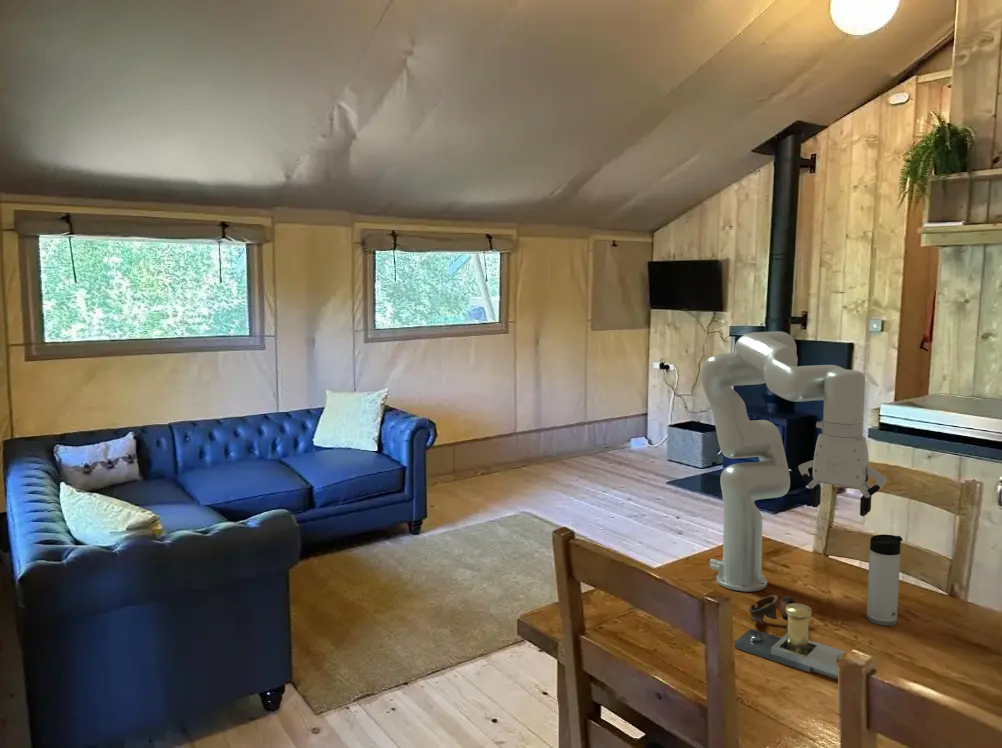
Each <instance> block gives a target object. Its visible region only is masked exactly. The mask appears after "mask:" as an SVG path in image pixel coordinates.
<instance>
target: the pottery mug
mask: <svg viewBox="0 0 1002 748" xmlns="http://www.w3.org/2000/svg"><path fill="white" fill-rule="evenodd" d="M755 603H756V605H757V606H756V605H755V604H754V603H753V604H751V605H750V606H749V608H748V612H749V613H750V617H749V618H750V621H751V622H758V623H760V624H762V625H763V624H764V618H765V617H767V618H769V619H772V620H778V617H777V612H776V611H777V610H778V611H779V613H780V614H781V615H782V619H783V620H784V621H786V622H788V614H786V612H785V611H786V605H788V604H791V603H797V602H796V600H795V599H794V598H793V597H791V596H788V595H787V596H784V597H782V598H779V596H777V594H772V595H771V594H770V595H767V596H765V597H763V598H760V599H758V600H756V602H755ZM784 630H785V632H788V626H787V627H785V629H784Z"/></svg>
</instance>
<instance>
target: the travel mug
mask: <svg viewBox="0 0 1002 748" xmlns="http://www.w3.org/2000/svg"><path fill="white" fill-rule="evenodd" d="M902 542H903V537H902V536H900V535H893V534H876V535H873V536H871V537H870V540H869V545H870V546H869V554H868V555H869V556H868V579H867V600H866V602H867V604H866V619H867V620H868V621H869V622H871V623H872V624H875V625H878V626H883V627H891V626H895V625H896V624H898V608H899V592H900V591H899V589H900V588H899V585H900V570H901V569H900V567H901V566H900V565H901V546H902V545H901V543H902Z"/></svg>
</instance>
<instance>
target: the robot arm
mask: <svg viewBox="0 0 1002 748" xmlns="http://www.w3.org/2000/svg"><path fill="white" fill-rule="evenodd" d="M798 360H799V359H798V355H797V344H796V341H795V339H794V337H793V336H792V335H791V334H790V333H787V332H785V331H778V330H776V331H757V332H756V331H755V332H753V331H752V332H749V333H745V334H744V335H741V336H740V337H739V338H738V339H737V341H736V342H735V345H734V352H729V353H728V352H727V353H718V354H715V355H713V356H710V357H708V358H707V359H706V360H705V361H704V363H703V365H702V368H701V383H702V384H701V385H702V387H703V391H704V394H705V396H706V398H707V400H708V402H709V406H710V408H711V412H712V416H713V420H714V425H715V431H716V432H715V433H716V437H717V442H718V446H719V450H720V453H722V455H723V456H724V457H726V458H728V459H747V458H757V457H758V459H759V461H751V462H750V461H749V462H738V463H733V464H730V465H728V466H727V467H725V468H724V469H723V470H722V471H721V474H720V478H719V479H720V480H719V482H720V489H721V493H722V494H721V495H722V503H723V534H722V535H723V537H722V538H723V544H722V545H723V548H722V560H718V559H715V558H710V560H709V568H710V569H712V570H716V571H717V572H718V573H717V574H716V582H717V583H718V584H719V585H720V586H721V587H723V588H726V589H728V590H733V591H738V592H748V593H749V592H757V591H758V592H759V591H762V590H764V589H765V588H766V587H768V579H767V578H766V577H765V575H763V574H762V561H763V560H762V554H763V553H762V552H763V515H762V513H761V512H760V509H759V508H758V506H756V504H755V501H758V500H765V499H774V498H775V499H776V498H781V497H783V496H786V495H787V494H788V492H789V490H790V488H791V477H790V476H791V475H790V471H789V465H788V461H787V456H786V452H785V448H784V447H785V446H784V444H783V443H784V442H783V439H782V435H781V432H780V430H779V428H778V427H777V426H776V425H775V424H774V423H773V422H771V421H769V420H768V419H767V420H765V419H759V420H758V419H757V420H754V419H753V420H750V418H749V416H748V412H747V407H746V403H745V401H744V400H743V398H742V397H741V396H740V395H739V394H738V392H737V391H735V390H734V389H733V388H732V387H733V386H734V387H735V386H750V385H751V386H752V385H753V386H754V385H763V384H765V385H766V387H767V388H768V390H769V391H770V392H771V393H773V394H775V395H776V396H778V397H780V398H782V399H784V400H786V401H790V402H795V403H796V402H811V401H823V415H822V416H823V417H822V421H821V420H820V421H816V424H815V427H816V428H817V429H821V433H819V434H818V436H817V440H816V443H815V448H814V449H815V450H814V455H813V460H809V461H806V462H804V463H801V464H799V465H798V467H797V468H798V471H799V473H800V475H801V477H802V480H803V481H804V482H805V483H806V484H807V486H808V488H809V489H810V490H809V491H810V493H809V501H810V502H811V507H812V508H816V507H818V506H820V505H821V498H822V497H821V495H822V487H821V485H820V484H826V485H827V484H828V485H833V486H839V487H845V488H853V489H855V488H856V489H858V490H859V491H860V493H861V494H862V496H861V497H860V504H859V515H860V516H861V517H865V516H867V515H868V514H869V513H870V512H871V509H872V496H873V495H874V494H876V493H877V492H878V491H880V490H881V489H882V488H883V486H884V484H885V483H886V482H887V480H888V479H887V476H885V475H884V474H882V473H880V472H879V471H877V470H876V469H874V468H872V466H870V460H869V459H870V458H869V450H868V444H867V443H868V442H867V438H866V437H865V436H864V415H865V413H864V411H865V391H866V390H865V389H866V387H865V386H866V377H865V374H864V373H863V372H862V371H860V370H855V369H846V368H843V367H841V366H838V365H836V364H821V365H819V364H818V365H816V364H815V365H799V366H798ZM811 468H812V474H811V473H809V469H811ZM870 477H871V478H872V479H874V480H875V484H874V485H873V486H871V485H870V484H869V483H868V482H869V479H870Z"/></svg>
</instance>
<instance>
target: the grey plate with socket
mask: <svg viewBox="0 0 1002 748" xmlns="http://www.w3.org/2000/svg"><path fill="white" fill-rule="evenodd" d="M734 647H735V648H734V649H736V648H737V650H739V651H742V650H743V652H746V653H749V654H751V655H755V656H758V657H760V658H763V659H766V660H769V661H773V662H775V663H778V664H782V665H784V666H788V667H790V668H794V669H796V670H799V671H803V672H806V673H808V674H811V673H812V672H813V673H816V674H820V675H822V676H825V677H828V678H832V679H835V680H838V661H839V658H840V657H841V656H842V655H843V654H844V653H846V652H847V651H846V650H842V649H840V648H836V647H833V646H829V645H826V644H822V643H818V642H815V641H813V640H809V639H808V655H807V656H805V655H802V654H799V653H796V652H793V651H790V650H787V633H786V634H785V635H783V636H782V637H780V636H779V637H778V636H777V635H776V636H775V635H772V634H769V633H766V632H762V631H759V630H757V629H753V628H750V629H748V630H747V631H746V632H745V633H743V635H741V636H740V637H738V638H737V640H735V641H734Z"/></svg>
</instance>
